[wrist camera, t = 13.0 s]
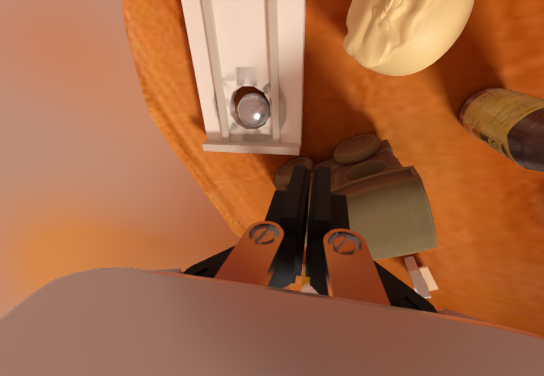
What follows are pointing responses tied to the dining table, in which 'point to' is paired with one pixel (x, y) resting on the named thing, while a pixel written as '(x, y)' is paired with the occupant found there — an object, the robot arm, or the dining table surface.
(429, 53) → the sculpture
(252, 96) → the steel ball
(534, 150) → the sauce bottle
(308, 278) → the supplement bottle
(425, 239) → the wooden toy train
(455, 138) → the dining table surface
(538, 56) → the dining table surface
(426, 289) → the architectural model
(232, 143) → the white tray
